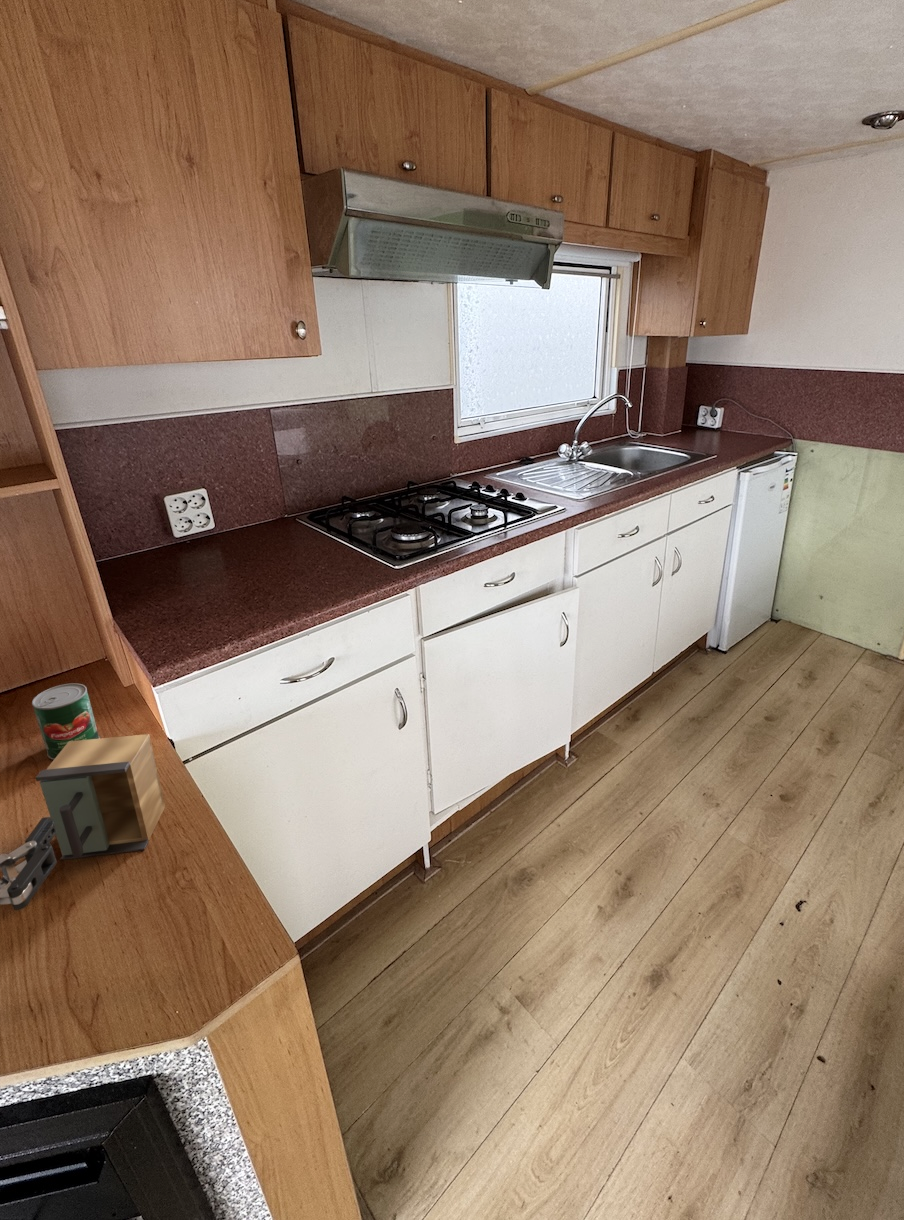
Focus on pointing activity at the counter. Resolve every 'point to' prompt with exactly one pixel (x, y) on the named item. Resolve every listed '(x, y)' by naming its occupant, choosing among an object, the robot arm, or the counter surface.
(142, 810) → the cabinet
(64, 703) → the canned tomato
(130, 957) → the counter surface
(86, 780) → the slide door
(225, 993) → the counter surface
